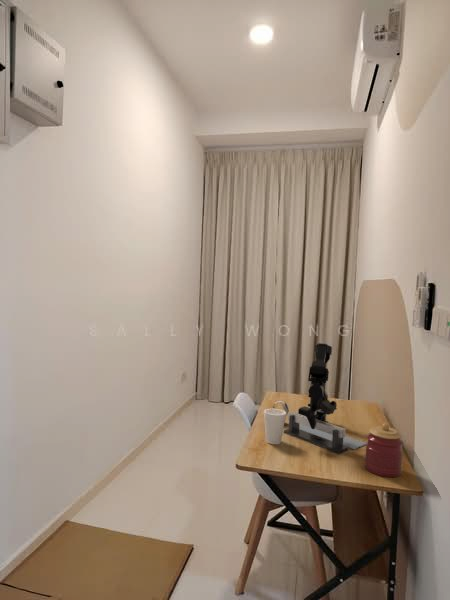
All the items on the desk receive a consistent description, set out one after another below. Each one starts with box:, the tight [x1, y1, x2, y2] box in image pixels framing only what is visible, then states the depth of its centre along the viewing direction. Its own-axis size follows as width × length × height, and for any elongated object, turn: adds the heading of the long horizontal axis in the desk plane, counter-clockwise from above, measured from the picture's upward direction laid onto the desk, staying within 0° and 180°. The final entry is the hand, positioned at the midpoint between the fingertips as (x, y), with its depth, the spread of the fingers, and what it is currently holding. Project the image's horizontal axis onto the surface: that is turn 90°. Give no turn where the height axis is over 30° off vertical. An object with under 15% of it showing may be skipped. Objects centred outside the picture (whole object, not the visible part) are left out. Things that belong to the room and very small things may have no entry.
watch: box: [272, 400, 290, 417], centre depth 199 cm, size 6×8×11 cm
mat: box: [299, 424, 367, 451], centre depth 185 cm, size 11×32×1 cm, turn 42°
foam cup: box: [263, 408, 287, 445], centre depth 175 cm, size 10×9×13 cm
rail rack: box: [283, 415, 349, 455], centre depth 178 cm, size 7×29×8 cm, turn 42°
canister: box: [364, 422, 404, 478], centre depth 151 cm, size 13×13×18 cm
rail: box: [287, 411, 347, 438], centre depth 178 cm, size 3×28×3 cm, turn 42°
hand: (315, 428), depth 178 cm, fingers closed on rail, 3 cm apart
